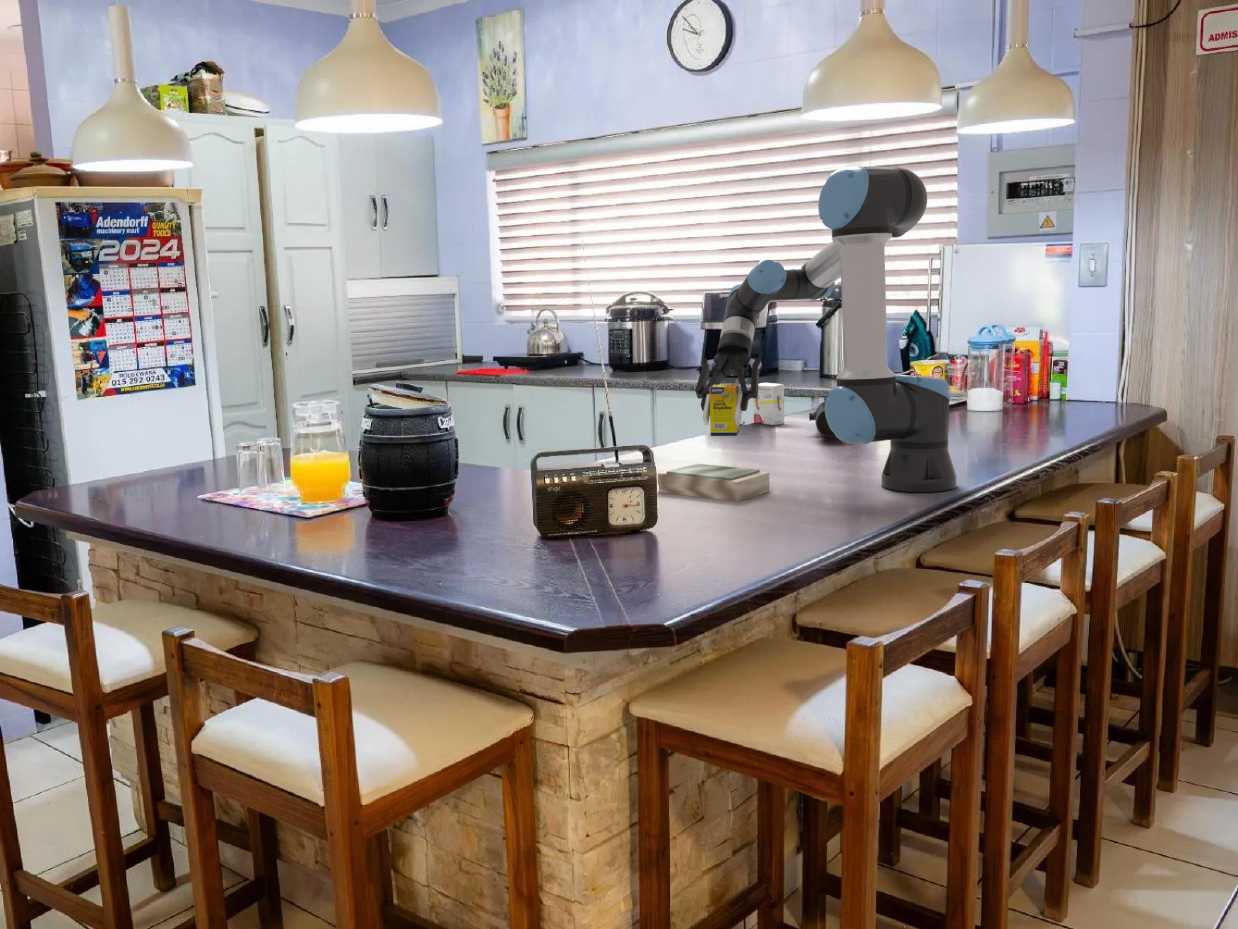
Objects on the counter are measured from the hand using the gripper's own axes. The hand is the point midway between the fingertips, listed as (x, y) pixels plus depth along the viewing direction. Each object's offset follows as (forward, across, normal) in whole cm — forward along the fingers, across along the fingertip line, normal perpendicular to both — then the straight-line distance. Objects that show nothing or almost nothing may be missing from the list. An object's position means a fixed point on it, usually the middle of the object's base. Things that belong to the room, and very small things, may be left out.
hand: (721, 420), depth 244 cm
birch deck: (+18, -1, -1) cm, 18 cm away
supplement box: (0, 0, -5) cm, 5 cm away
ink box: (-57, +8, -74) cm, 94 cm away
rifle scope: (-41, -13, -60) cm, 74 cm away
